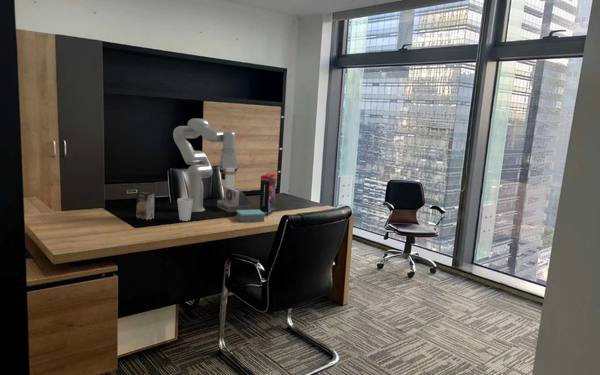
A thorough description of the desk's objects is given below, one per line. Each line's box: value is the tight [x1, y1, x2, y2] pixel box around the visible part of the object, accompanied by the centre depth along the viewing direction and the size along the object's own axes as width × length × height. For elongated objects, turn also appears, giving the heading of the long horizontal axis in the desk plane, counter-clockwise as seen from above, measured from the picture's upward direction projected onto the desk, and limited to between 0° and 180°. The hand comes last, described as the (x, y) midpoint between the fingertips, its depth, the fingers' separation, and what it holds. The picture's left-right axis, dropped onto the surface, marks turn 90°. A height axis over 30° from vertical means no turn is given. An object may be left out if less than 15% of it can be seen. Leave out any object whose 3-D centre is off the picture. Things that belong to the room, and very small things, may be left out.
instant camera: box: [216, 186, 251, 213], centre depth 314 cm, size 21×21×15 cm
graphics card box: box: [259, 172, 277, 216], centre depth 305 cm, size 17×7×27 cm, turn 168°
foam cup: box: [176, 197, 193, 222], centre depth 273 cm, size 10×9×13 cm
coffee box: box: [135, 190, 155, 221], centre depth 270 cm, size 9×6×16 cm
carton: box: [220, 168, 236, 188], centre depth 281 cm, size 6×8×12 cm
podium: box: [235, 209, 266, 223], centre depth 285 cm, size 16×13×5 cm
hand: (227, 179), depth 281 cm, fingers closed on carton, 5 cm apart
